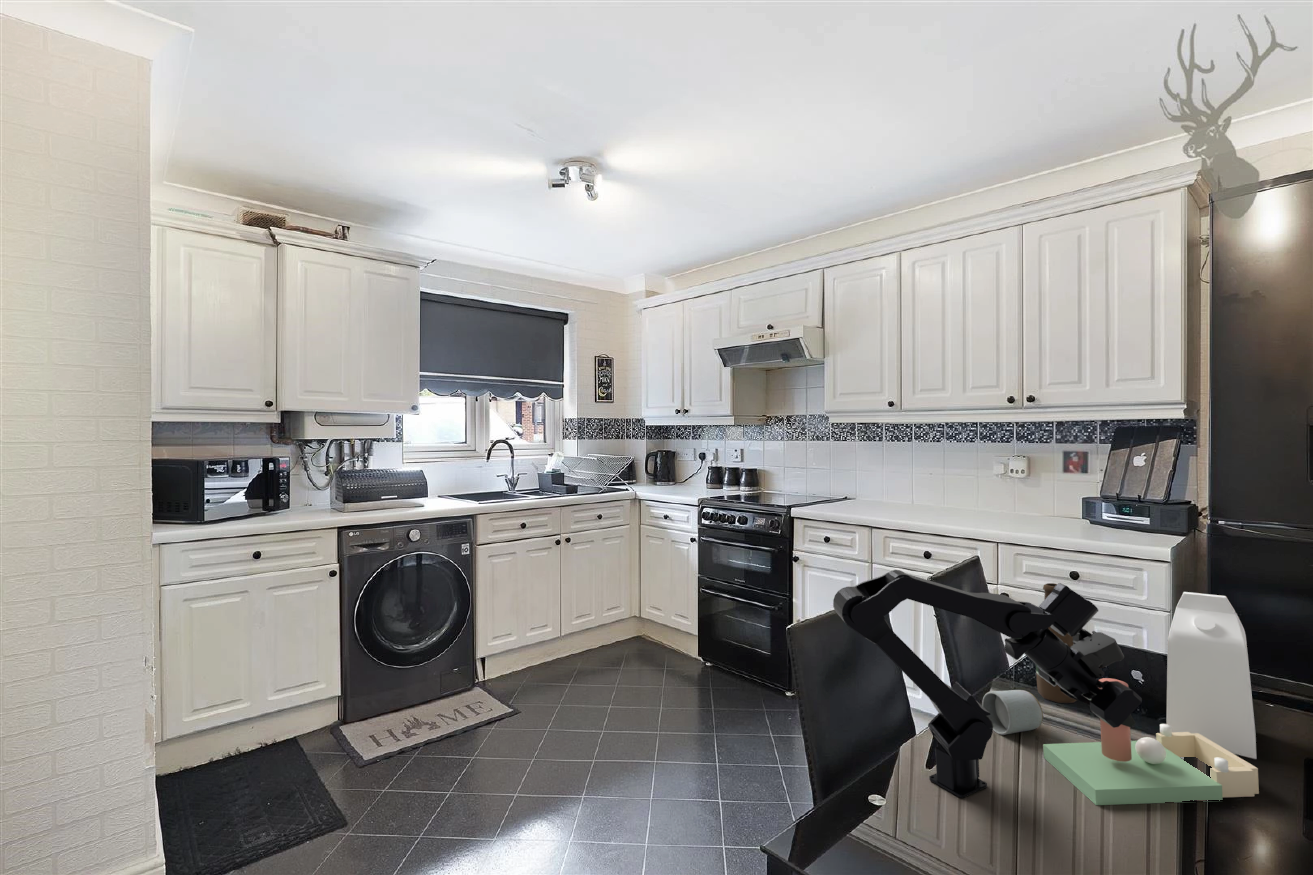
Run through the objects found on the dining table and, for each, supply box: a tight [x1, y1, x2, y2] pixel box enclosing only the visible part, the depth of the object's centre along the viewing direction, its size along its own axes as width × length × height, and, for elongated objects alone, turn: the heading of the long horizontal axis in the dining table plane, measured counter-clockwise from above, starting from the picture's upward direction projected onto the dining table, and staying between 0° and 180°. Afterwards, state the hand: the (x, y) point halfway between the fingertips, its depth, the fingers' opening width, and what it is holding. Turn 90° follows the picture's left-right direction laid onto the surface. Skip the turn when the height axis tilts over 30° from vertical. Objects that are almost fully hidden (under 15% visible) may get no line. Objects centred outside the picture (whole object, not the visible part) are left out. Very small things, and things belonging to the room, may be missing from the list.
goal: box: [1155, 723, 1260, 798], centre depth 103 cm, size 7×13×6 cm, turn 178°
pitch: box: [1042, 740, 1224, 806], centre depth 104 cm, size 19×14×2 cm
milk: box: [1165, 591, 1257, 760], centre depth 115 cm, size 12×12×26 cm
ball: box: [1135, 736, 1166, 764], centre depth 104 cm, size 4×4×4 cm
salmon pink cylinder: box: [1098, 677, 1132, 762], centre depth 104 cm, size 4×4×12 cm
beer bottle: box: [1035, 582, 1077, 704], centre depth 134 cm, size 8×8×24 cm
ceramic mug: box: [981, 689, 1044, 736], centre depth 123 cm, size 11×8×8 cm
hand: (1123, 718), depth 104 cm, fingers closed on salmon pink cylinder, 4 cm apart
